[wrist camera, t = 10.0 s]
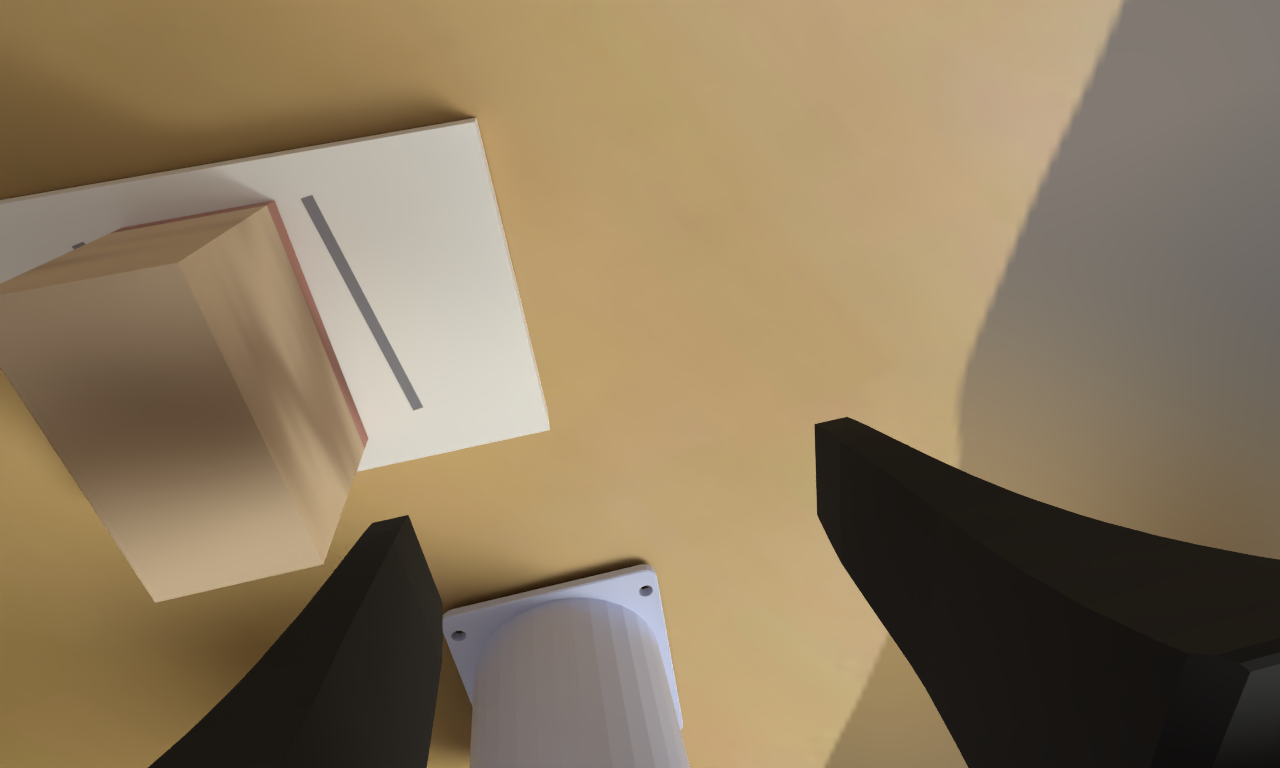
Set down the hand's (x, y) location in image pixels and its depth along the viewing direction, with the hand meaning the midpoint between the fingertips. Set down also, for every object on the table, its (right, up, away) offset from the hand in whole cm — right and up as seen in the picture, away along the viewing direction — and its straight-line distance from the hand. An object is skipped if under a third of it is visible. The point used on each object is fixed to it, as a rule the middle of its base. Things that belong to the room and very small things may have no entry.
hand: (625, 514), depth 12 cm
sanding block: (-10, +3, +6) cm, 12 cm away
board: (-10, +4, +7) cm, 13 cm away
